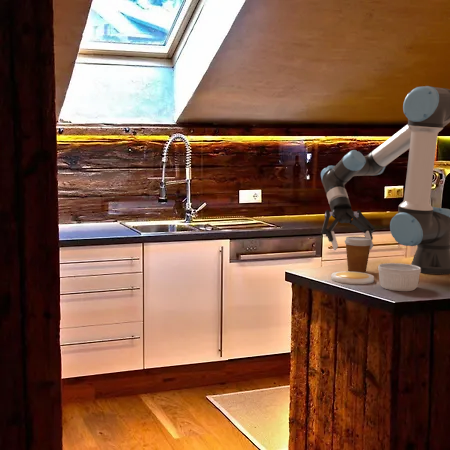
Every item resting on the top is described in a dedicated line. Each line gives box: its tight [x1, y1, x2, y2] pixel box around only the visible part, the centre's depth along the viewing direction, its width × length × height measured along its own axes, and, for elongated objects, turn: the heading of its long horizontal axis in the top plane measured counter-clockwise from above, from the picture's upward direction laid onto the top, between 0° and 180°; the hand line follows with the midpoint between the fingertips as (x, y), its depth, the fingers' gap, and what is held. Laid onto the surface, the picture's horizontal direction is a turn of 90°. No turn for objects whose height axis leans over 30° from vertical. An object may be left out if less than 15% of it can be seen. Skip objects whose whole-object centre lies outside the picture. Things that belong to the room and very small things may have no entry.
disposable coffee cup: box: [344, 236, 373, 273], centre depth 248 cm, size 10×10×12 cm
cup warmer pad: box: [330, 270, 375, 285], centre depth 234 cm, size 14×14×2 cm
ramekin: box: [377, 262, 421, 292], centre depth 223 cm, size 13×13×7 cm
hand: (353, 247), depth 250 cm, fingers open, 13 cm apart
